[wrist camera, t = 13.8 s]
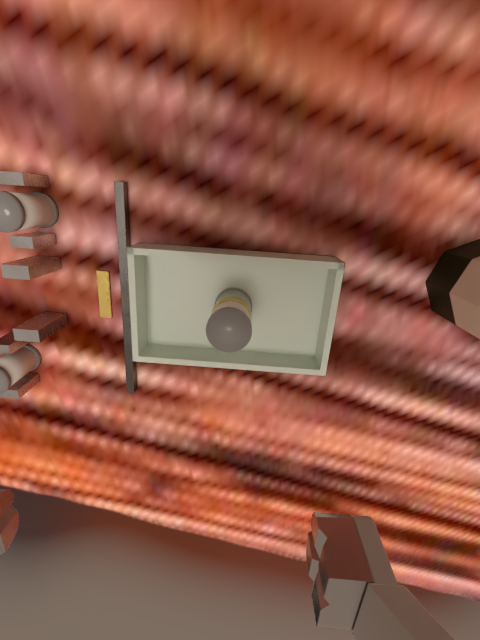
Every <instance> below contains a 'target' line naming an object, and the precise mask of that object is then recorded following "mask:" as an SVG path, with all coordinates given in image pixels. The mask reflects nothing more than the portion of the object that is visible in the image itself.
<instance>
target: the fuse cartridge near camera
mask: <svg viewBox="0 0 480 640" xmlns="http://www.w3.org/2000/svg"><path fill="white" fill-rule="evenodd" d="M40 364H41V355H40V352H39V351H38V350H37V349H36V348H35V347H34V346H32V345H30V344H26V345H25V346H23V347H22V348H20V349H18V350H17V351H15V352H14V353H12V354H4V355H3V356H1V357H0V395H1V394H3V393H4V392H6V391H7V390H8V389H9V388H10V386H12V385H13V384H14V383H16V382H17V381H18V380H20V379H21V378H22V377H24V376H25V375H26V374H28V373H29V372H30V371H33V370H34V369H36V368H37V367H38V366H39V365H40Z"/></svg>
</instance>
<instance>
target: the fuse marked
mask: <svg viewBox="0 0 480 640" xmlns="http://www.w3.org/2000/svg"><path fill="white" fill-rule="evenodd" d="M251 312H252V301H251V298H250V297H249V295H248V294H247V293H246V292H245V291H243V290H242V289H239V288H228V289H225V290H223V291H222V292H221V293H220V294H219V295H218V296H217V298H216V301H215V305H214V308H213V310H212V313H211V316H210V318H209V319H208V322H207V325H206V336H207V339H208V341H209V342H210V343H211V345H212V346H214V347H215V348H216V349H218V350H220V351H223V352H236V351H239V350H241V349H242V348H244V347H245V346H246V345H247V344H248V343H249V341H250V339H251V336H252V324H251V318H252V314H251Z"/></svg>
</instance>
